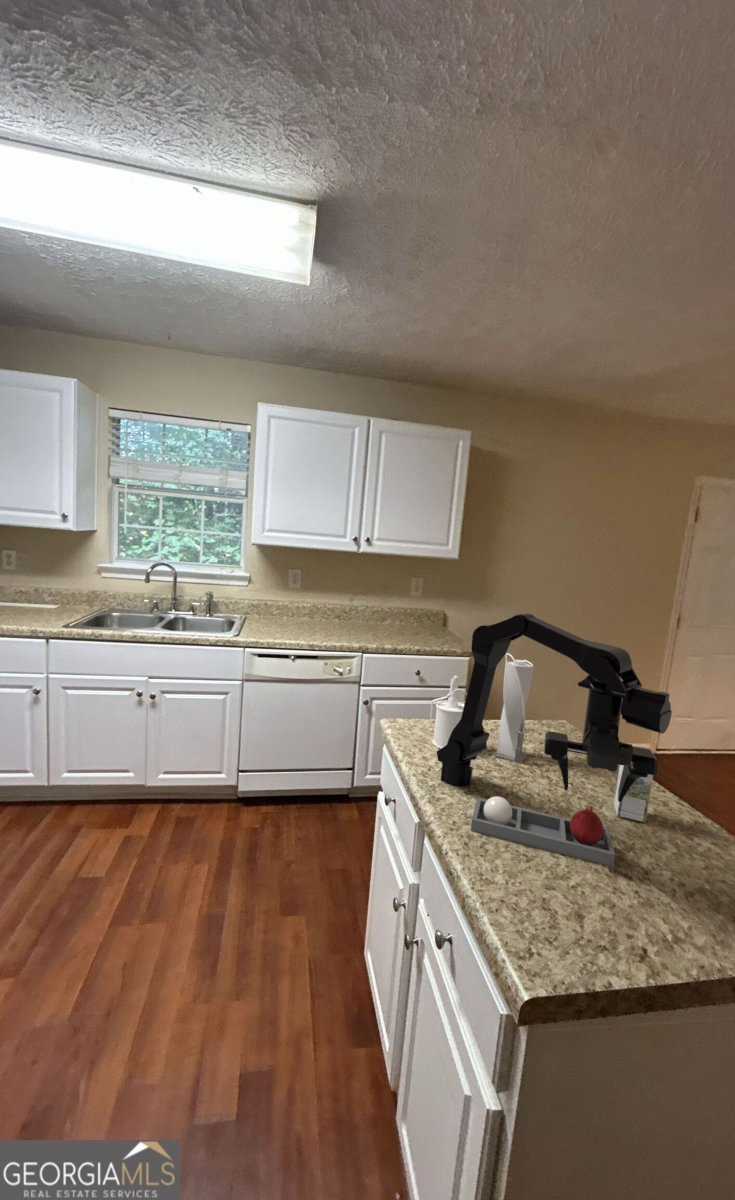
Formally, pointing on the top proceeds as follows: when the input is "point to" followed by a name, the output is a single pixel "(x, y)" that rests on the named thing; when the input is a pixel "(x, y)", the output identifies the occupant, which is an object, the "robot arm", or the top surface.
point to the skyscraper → (514, 710)
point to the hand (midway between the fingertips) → (592, 795)
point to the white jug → (447, 715)
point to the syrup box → (634, 798)
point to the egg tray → (544, 834)
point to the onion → (586, 827)
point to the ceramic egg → (498, 810)
